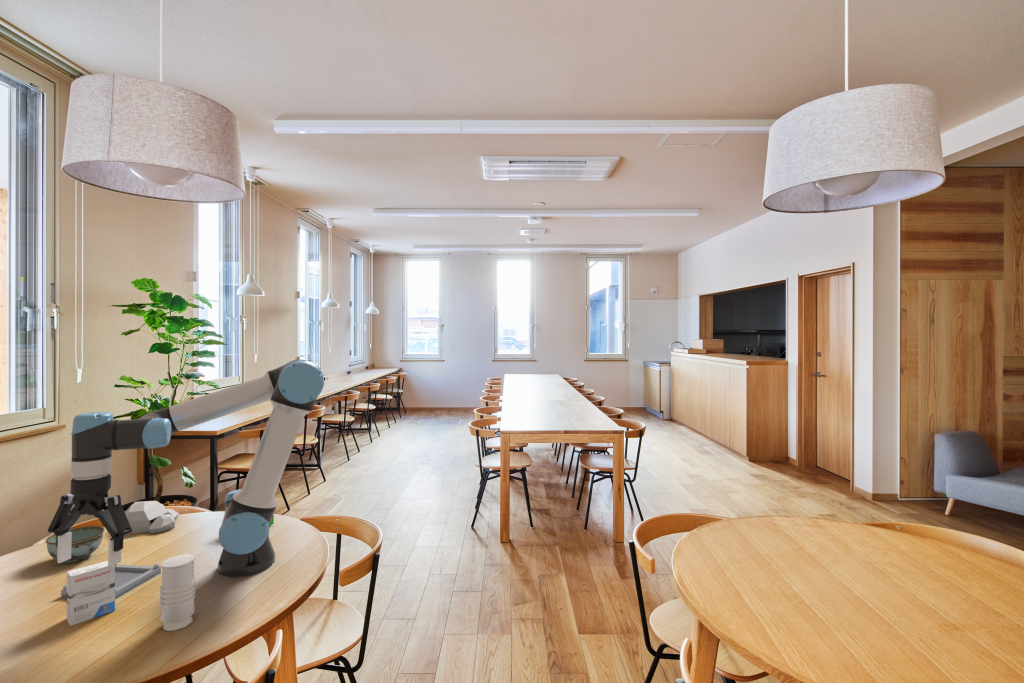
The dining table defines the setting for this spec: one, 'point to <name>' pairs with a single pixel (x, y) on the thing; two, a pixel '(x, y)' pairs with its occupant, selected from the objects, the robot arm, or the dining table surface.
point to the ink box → (90, 592)
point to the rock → (150, 517)
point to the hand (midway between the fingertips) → (89, 562)
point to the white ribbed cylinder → (177, 592)
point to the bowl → (78, 542)
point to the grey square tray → (128, 577)
